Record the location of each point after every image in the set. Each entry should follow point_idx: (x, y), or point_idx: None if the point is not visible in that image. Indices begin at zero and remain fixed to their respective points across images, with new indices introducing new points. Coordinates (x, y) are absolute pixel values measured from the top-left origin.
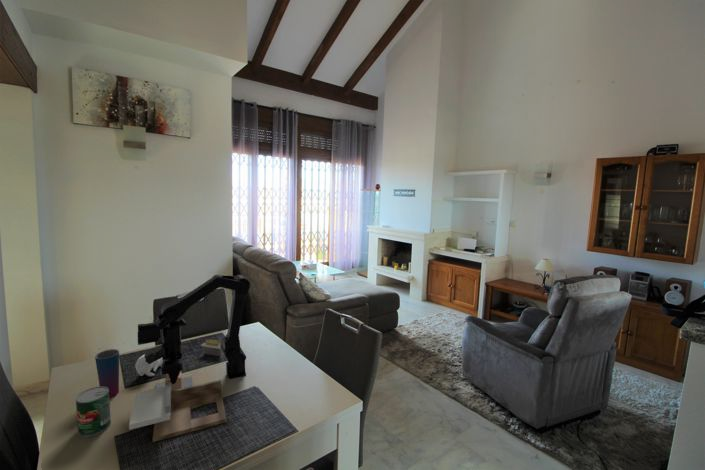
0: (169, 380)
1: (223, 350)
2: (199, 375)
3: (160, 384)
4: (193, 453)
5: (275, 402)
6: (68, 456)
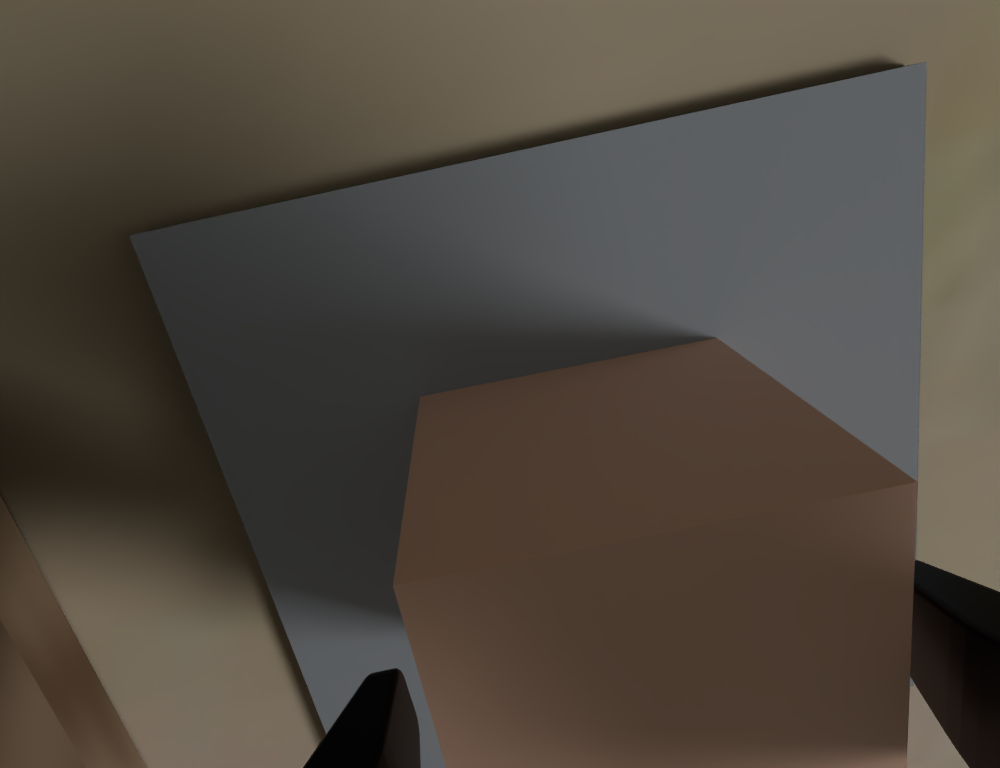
0: (421, 676)
1: None
2: (907, 758)
3: (836, 187)
4: None
5: None
6: None
